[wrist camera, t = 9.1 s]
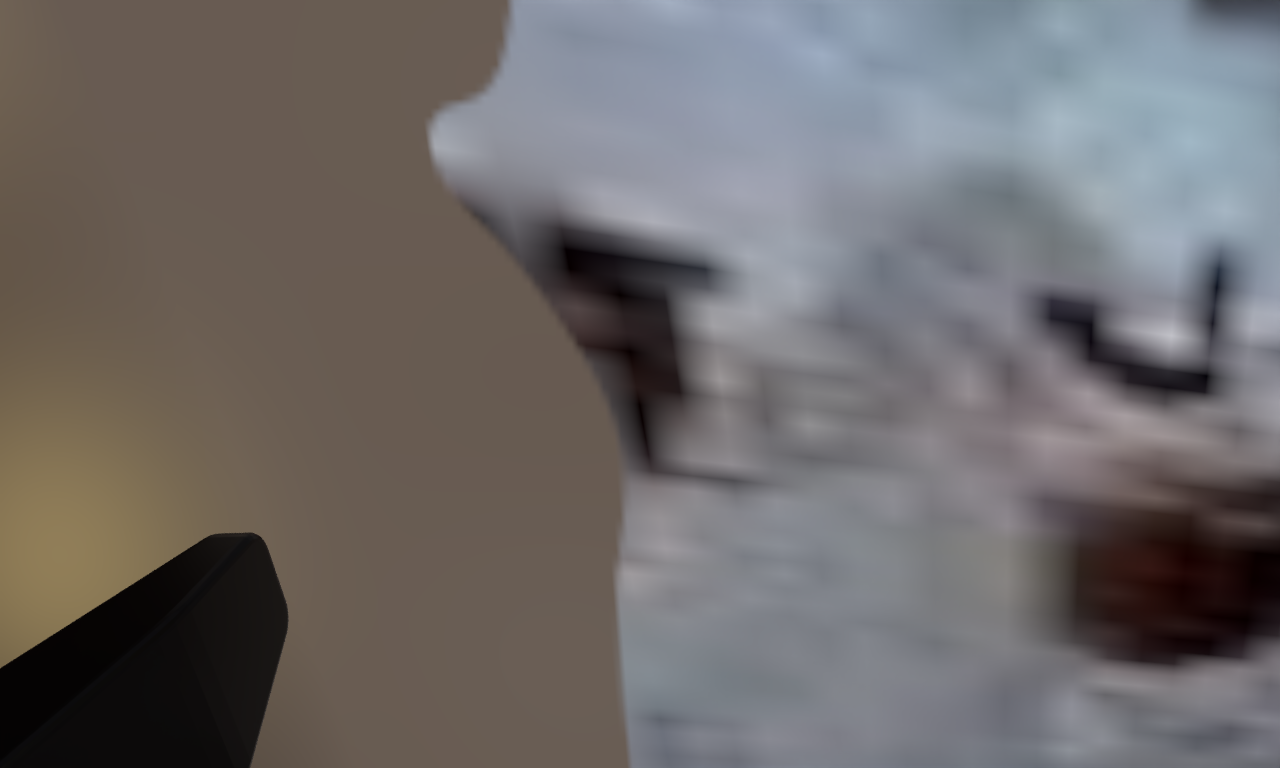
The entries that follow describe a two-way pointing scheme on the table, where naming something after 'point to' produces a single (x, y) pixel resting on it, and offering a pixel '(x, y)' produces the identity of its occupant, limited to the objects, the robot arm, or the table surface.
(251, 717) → the robot arm
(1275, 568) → the table surface
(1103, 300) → the table surface
